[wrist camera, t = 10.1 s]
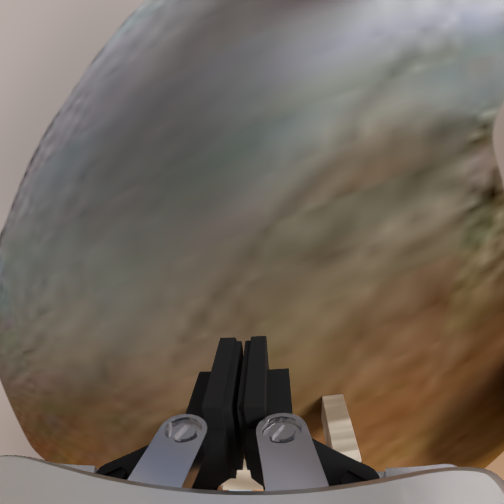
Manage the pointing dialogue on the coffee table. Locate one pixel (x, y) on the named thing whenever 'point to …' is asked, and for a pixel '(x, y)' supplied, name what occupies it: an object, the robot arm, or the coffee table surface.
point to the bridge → (336, 438)
